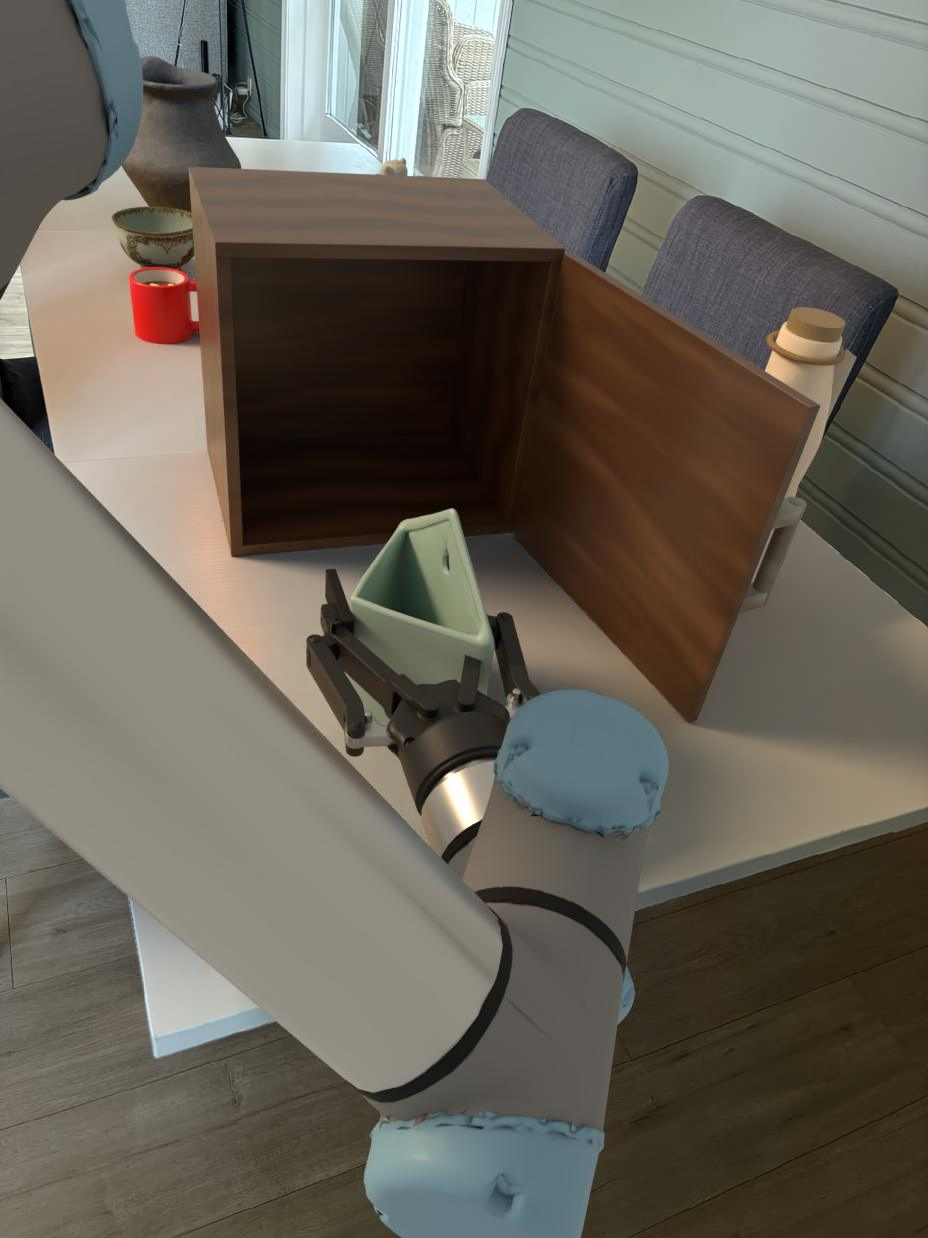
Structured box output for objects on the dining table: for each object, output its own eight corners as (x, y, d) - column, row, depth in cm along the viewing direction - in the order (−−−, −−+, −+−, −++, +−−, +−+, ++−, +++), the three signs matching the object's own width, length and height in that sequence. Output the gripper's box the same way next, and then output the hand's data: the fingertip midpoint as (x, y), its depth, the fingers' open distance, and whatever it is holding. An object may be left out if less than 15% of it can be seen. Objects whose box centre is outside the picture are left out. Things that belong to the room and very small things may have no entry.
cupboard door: (564, 524, 102) (625, 250, 83) (746, 702, 83) (879, 395, 64) (512, 535, 99) (564, 253, 81) (688, 722, 80) (810, 407, 61)
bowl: (215, 281, 147) (213, 230, 142) (130, 287, 141) (124, 234, 136) (190, 253, 156) (187, 203, 151) (108, 257, 150) (102, 206, 145)
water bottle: (724, 532, 105) (810, 291, 88) (789, 572, 100) (894, 325, 83) (667, 558, 100) (747, 306, 82) (733, 602, 95) (833, 343, 77)
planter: (314, 663, 80) (315, 466, 68) (397, 644, 83) (413, 453, 71) (382, 801, 69) (398, 596, 57) (475, 773, 72) (509, 574, 60)
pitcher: (168, 245, 157) (154, 80, 142) (100, 209, 168) (80, 52, 152) (264, 229, 170) (261, 76, 154) (196, 197, 180) (187, 50, 165)
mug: (222, 345, 129) (220, 289, 124) (133, 342, 126) (126, 285, 121) (222, 323, 134) (219, 269, 130) (136, 320, 132) (130, 265, 127)
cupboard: (514, 532, 100) (565, 248, 81) (231, 556, 91) (214, 242, 72) (453, 435, 116) (485, 178, 97) (207, 447, 106) (188, 166, 87)
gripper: (306, 864, 56) (252, 628, 72) (614, 804, 62) (501, 600, 78) (307, 783, 51) (250, 550, 67) (640, 727, 57) (514, 527, 74)
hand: (385, 577), depth 73 cm, fingers closed on planter, 8 cm apart
